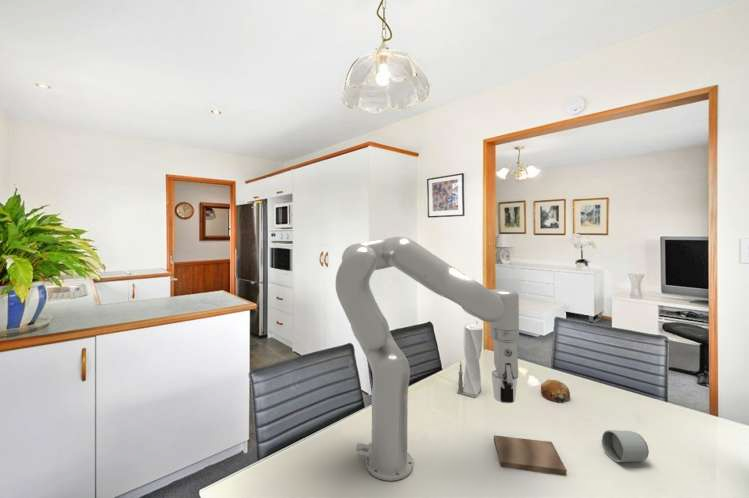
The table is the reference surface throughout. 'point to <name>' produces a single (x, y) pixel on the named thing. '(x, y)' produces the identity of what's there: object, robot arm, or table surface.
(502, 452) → the walnut board
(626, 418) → the table surface
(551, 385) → the bread roll
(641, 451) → the ceramic mug
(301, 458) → the table surface
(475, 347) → the skyscraper
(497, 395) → the white short cylinder
